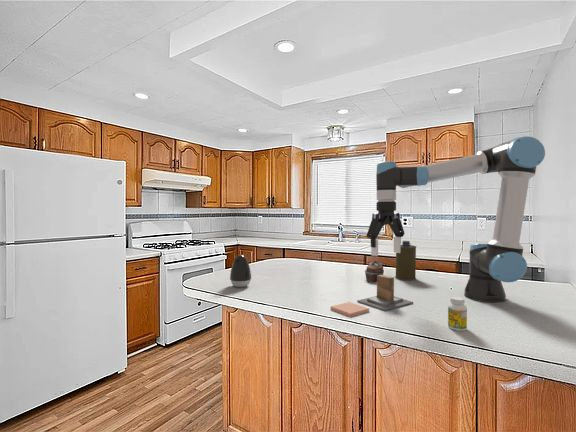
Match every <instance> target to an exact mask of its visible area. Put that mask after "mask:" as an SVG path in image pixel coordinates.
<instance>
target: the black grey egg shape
mask: <svg viewBox="0 0 576 432" xmlns="http://www.w3.org/2000/svg"><path fill="white" fill-rule="evenodd" d="M250 267H251V266H250V264H249V261H248V259H247V257H246V256H245V255H243V254H239V255H237V256H236V257H234V260H233V262H232V264H231V269H230V273H229V274H230V275H229V280H230V282H231V284H232V285H233V286H234V287H235V288H246V287H247V286H249V285H250V284H251V280H252V271H251V268H250Z"/></svg>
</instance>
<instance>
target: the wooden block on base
mask: <svg viewBox="0 0 576 432" xmlns="http://www.w3.org/2000/svg"><path fill="white" fill-rule="evenodd" d="M394 292H395V276H394V277H393V276H389V275H384V274H383V275H378V276H377V282H376V296H377V297H375V296H372V297H373V298H370V297H367V298H368V299H367V301H368V302H371V303H374V304H378V305H381V306H386V305H390V304H394V303H398V302H402V301H403V299H404V298H401V297H398V296H395V293H394Z"/></svg>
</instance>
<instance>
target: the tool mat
mask: <svg viewBox="0 0 576 432" xmlns="http://www.w3.org/2000/svg"><path fill="white" fill-rule="evenodd" d="M373 297H377V295H375V296H371V297H366V298H363V299H362V298H361V299H358V300H357V303H358V304H359V303H360V304H361V305H362V304H363V305H366V306H368V307H372V308H374V309H378V310H380V311H383V312H387V311H391V310H394V309H397V308H402V307H406V306H409V305H412V304H414V301H411V300H407V299H404V298H402V299H403V301H402V302H398V303H394V304H390V305H386V306H381V305H378V304H374V303H371V302H368V301H367V299H368V298H373Z"/></svg>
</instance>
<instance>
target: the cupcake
mask: <svg viewBox="0 0 576 432" xmlns="http://www.w3.org/2000/svg"><path fill="white" fill-rule="evenodd" d="M384 272H385V271H384V266H383V262H381V261H375V260H373V261H371V262H370V263H369V264H368V265H367V266H366V269H365V270H364V273H365V279H366V281H367V282H369V283H370V282H371V283H377V276H378V275H384Z"/></svg>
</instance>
